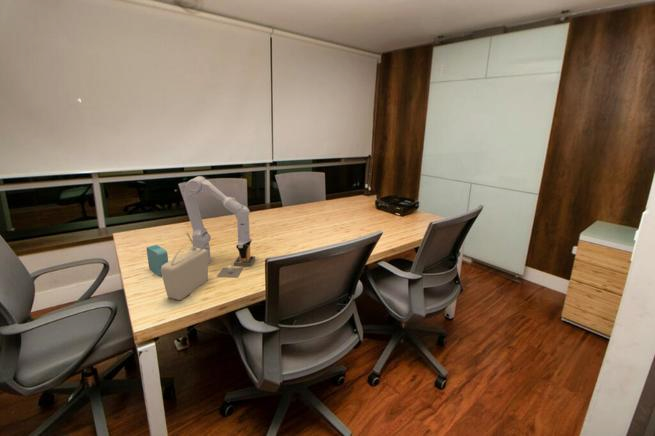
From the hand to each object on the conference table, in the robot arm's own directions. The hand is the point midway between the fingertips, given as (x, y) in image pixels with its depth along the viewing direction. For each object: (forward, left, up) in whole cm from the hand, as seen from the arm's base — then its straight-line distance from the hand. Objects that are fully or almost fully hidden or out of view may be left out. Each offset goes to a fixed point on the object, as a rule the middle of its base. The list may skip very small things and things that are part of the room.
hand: (244, 256), depth 165 cm
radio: (-18, -28, -5) cm, 33 cm away
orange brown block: (0, 0, -2) cm, 2 cm away
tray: (0, 0, -4) cm, 4 cm away
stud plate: (-4, -12, -4) cm, 13 cm away
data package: (-38, -12, -5) cm, 40 cm away
